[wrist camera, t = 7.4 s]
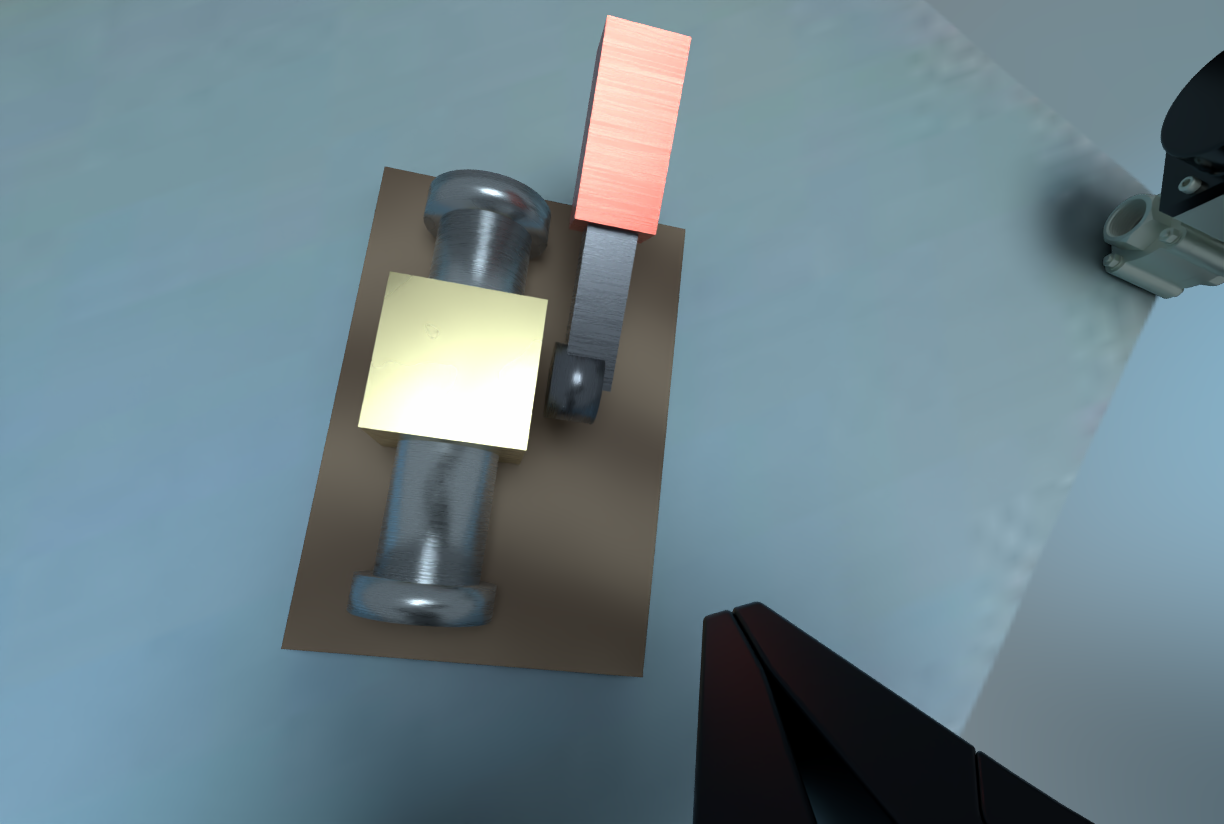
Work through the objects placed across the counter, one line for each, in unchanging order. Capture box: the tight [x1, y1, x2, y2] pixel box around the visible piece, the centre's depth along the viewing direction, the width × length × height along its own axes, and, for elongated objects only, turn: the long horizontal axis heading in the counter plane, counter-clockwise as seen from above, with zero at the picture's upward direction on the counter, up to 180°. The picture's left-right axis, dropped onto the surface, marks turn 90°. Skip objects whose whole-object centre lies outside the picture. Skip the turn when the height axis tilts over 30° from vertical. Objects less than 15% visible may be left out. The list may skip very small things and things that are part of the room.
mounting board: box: [281, 167, 685, 677], centre depth 21 cm, size 16×11×1 cm
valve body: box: [346, 170, 551, 627], centre depth 19 cm, size 13×4×4 cm, turn 173°
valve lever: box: [544, 15, 691, 424], centre depth 17 cm, size 2×2×11 cm
